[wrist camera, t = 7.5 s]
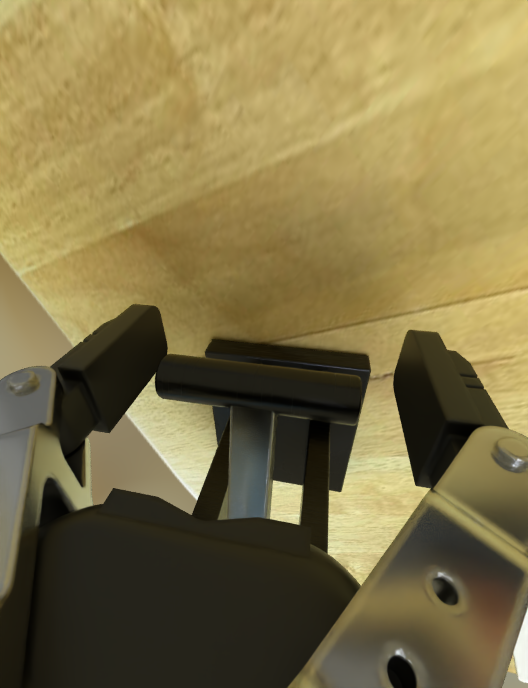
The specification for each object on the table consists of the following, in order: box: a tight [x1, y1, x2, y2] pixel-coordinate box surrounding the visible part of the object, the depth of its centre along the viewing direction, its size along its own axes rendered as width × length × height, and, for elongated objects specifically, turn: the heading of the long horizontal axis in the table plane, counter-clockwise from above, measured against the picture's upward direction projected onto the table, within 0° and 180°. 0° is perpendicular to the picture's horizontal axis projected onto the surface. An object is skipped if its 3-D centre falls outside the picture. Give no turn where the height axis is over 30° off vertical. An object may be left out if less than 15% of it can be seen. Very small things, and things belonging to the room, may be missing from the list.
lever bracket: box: [192, 339, 371, 554], centre depth 14 cm, size 10×8×12 cm
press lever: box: [155, 354, 362, 519], centre depth 9 cm, size 11×5×2 cm, turn 0°
